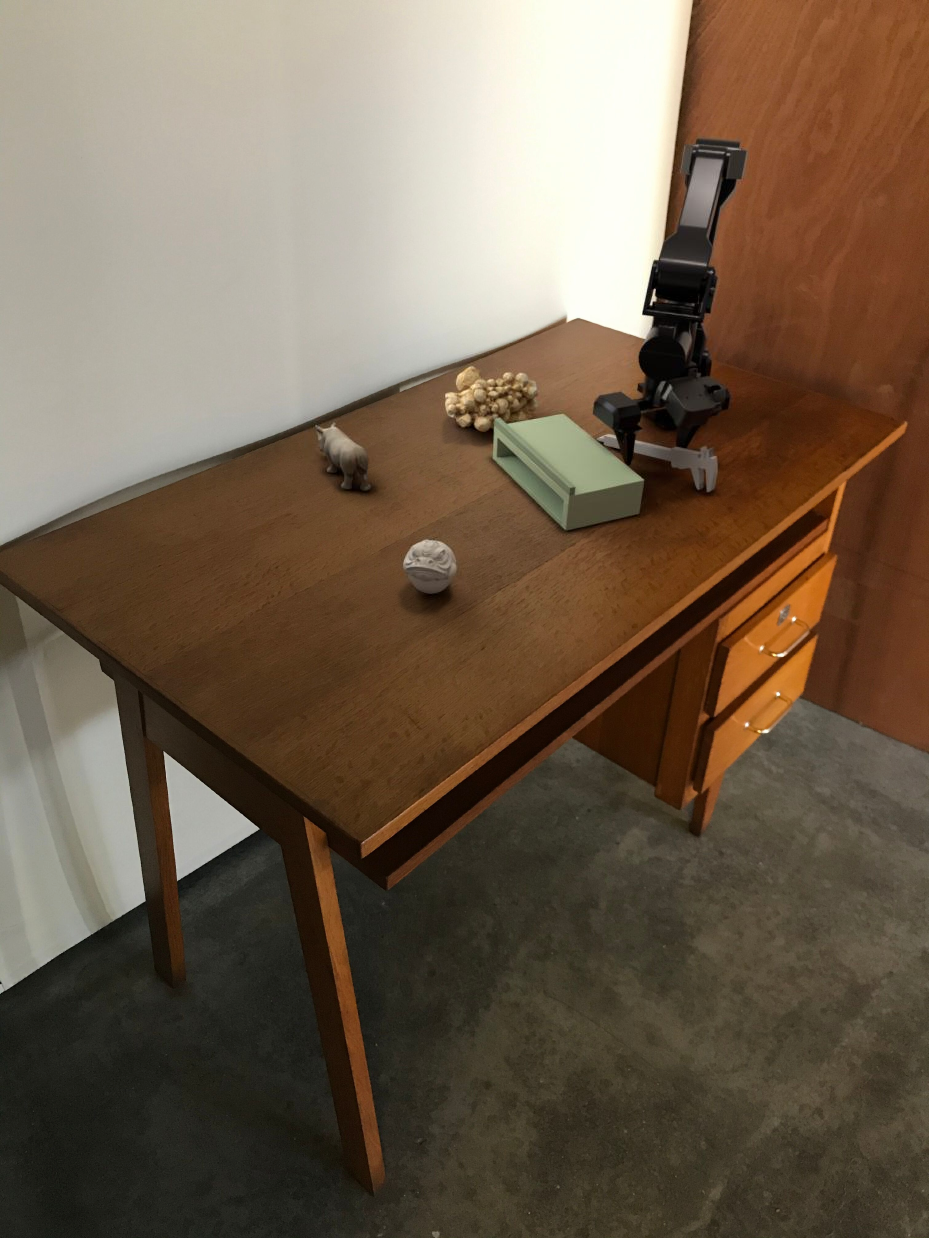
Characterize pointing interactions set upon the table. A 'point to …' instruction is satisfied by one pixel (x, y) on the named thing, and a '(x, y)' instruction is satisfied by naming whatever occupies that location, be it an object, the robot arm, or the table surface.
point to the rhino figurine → (343, 455)
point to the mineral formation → (491, 399)
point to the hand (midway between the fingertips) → (653, 459)
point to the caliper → (678, 459)
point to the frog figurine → (430, 566)
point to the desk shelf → (567, 471)
